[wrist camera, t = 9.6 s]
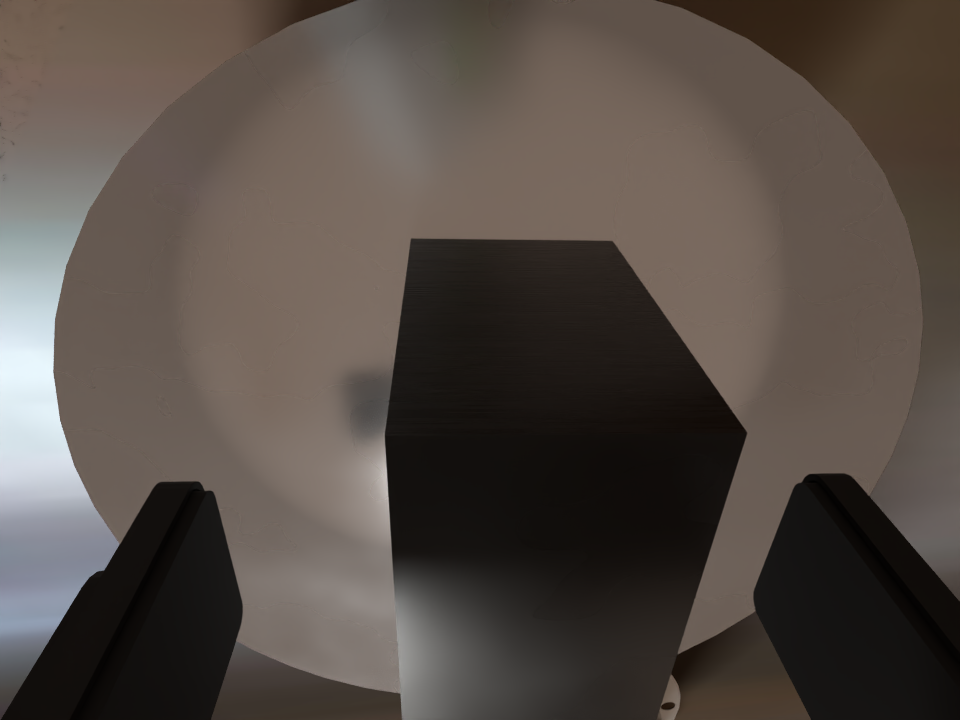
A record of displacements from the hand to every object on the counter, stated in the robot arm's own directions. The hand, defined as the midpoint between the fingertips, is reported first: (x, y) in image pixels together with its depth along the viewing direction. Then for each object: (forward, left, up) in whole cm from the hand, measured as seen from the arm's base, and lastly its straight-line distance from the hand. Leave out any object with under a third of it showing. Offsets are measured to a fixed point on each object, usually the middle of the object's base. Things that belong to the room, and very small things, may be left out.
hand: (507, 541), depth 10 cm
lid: (0, 0, -3) cm, 3 cm away
